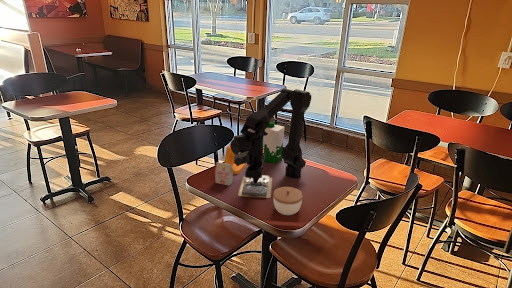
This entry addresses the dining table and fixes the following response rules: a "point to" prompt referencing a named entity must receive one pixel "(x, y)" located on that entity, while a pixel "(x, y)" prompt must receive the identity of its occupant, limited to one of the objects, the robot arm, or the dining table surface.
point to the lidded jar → (287, 200)
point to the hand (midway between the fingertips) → (255, 183)
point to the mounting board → (256, 195)
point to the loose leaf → (255, 189)
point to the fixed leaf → (264, 180)
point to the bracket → (230, 160)
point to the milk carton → (273, 143)
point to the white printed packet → (223, 173)
